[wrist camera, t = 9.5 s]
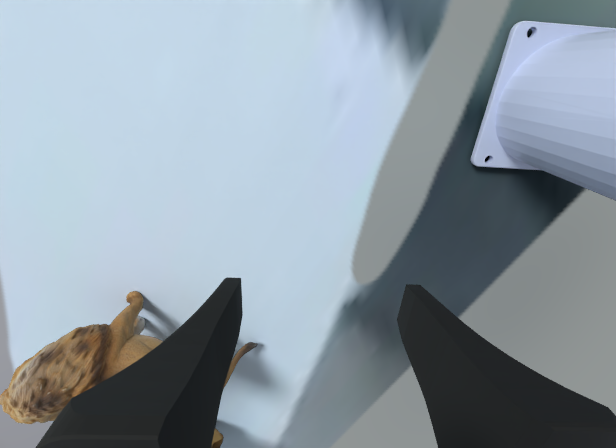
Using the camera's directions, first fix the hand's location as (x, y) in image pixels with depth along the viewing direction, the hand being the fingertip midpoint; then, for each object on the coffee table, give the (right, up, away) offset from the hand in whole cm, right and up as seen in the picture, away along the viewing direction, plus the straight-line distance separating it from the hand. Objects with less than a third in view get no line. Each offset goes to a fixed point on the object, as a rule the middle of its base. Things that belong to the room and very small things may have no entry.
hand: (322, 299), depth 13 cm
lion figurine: (-13, -5, +13) cm, 19 cm away
